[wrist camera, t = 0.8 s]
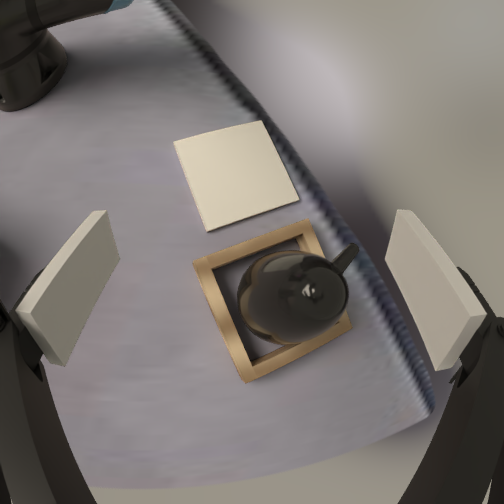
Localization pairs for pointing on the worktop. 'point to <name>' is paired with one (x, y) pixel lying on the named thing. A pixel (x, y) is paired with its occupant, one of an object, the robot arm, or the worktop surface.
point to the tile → (234, 174)
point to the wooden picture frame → (221, 313)
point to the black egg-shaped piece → (294, 295)
